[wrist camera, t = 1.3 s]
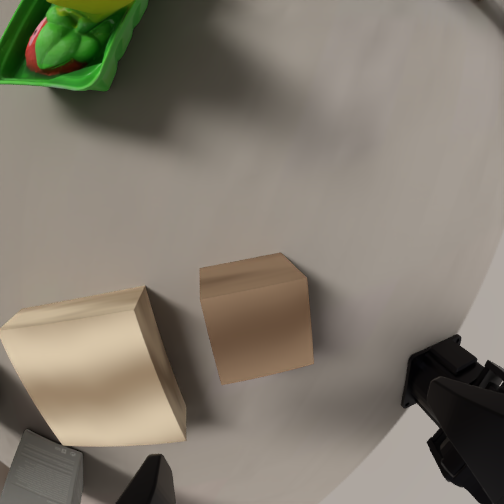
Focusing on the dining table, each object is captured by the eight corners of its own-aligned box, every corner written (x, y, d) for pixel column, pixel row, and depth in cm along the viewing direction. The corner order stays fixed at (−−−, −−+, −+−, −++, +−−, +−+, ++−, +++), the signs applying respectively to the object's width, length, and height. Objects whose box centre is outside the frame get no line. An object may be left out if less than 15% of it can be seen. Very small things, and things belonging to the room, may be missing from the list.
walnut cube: (289, 323, 20) (313, 363, 16) (215, 339, 20) (221, 385, 15) (280, 252, 19) (307, 277, 14) (199, 267, 18) (199, 299, 14)
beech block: (186, 403, 21) (186, 441, 17) (75, 413, 20) (62, 445, 16) (146, 283, 18) (133, 309, 15) (24, 306, 17) (-3, 331, 13)
